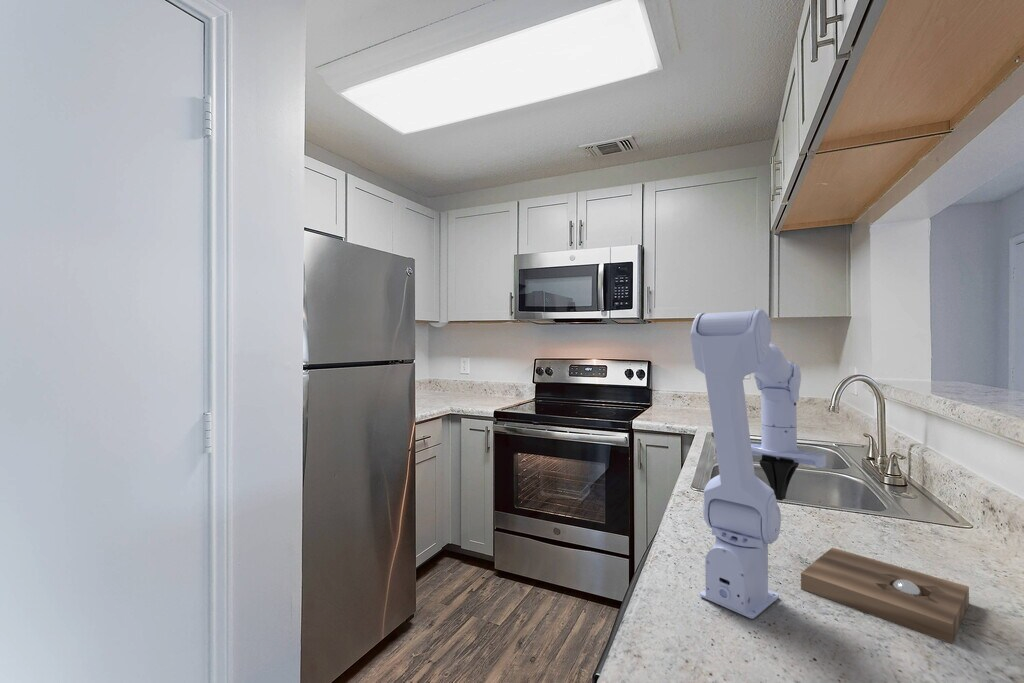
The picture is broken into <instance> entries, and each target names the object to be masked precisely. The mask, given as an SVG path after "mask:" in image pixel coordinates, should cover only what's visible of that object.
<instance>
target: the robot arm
mask: <svg viewBox="0 0 1024 683" xmlns="http://www.w3.org/2000/svg"><path fill="white" fill-rule="evenodd" d="M689 335H690V345H691V351H692V357H693V358H692V359H693V361H694V367H695V369H697V371H699V372H700V373H702V374H704V377H705V384H706V391H707V392H706V393H707V397H708V403H709V404H708V405H709V412H710V417H711V418H710V419H711V424H712V430H713V431H712V432H713V438H714V446H715V452H716V458H717V466H718V467H717V468H718V472H719V473H718V475H716V476H715V475H714V477H712V478H711V479H709V480H708V482H707V483H706V484H705V487H704V490H703V503H702V504H703V506H702V515H703V520H704V521H705V523H706V525H707V527H708V528H709V529H711V535H713V536H715V541H714V544H713V546H712V548H710V549H709V550H708V552H707V554H706V555H705V562H704V563H705V567H704V568H705V589H704V590H702V591H700V592H699V596H700V597H701V598H703V599H705V600H708V601H710V602H712V603H715V604H716V605H718V606H719V605H720V607H724V608H726V609H728V610H730V611H733V612H735V613H737V614H739V615H741V616H744V617H746V618H748V619H752V620H753V619H755V618H756V617H757V616H759V615H760V614H761V613H762V612H763V611H765V610H766V609H767V608H768V607H769V606H771V605H772V604H773V603H774V602H775V601H776V600H778V599H779V598H780V594H779V593H778V592H775V591H773V590H770V589H769V545H772V544H774V543H775V542H776V541H777V540H778V538H779V535H780V531H781V525H782V515H781V513H782V512H781V508H780V506H779V504H778V502H777V501H783V500H785V499H786V497H787V492H788V489H789V484H790V482H791V480H792V477H793V476H794V474H795V472H796V470H797V469H798V468H799V466H800V465H799V464H802V465H803V464H804V465H809V466H814V467H816V468H821V469H822V468H825V467H826V466H827V456H826V454H821V453H816V452H810V451H807V450H802V449H798V437H797V436H798V434H797V432H798V430H797V427H798V425H797V424H798V422H797V420H798V419H797V415H798V414H797V413H798V412H797V402H799V398H800V388H801V382H802V375H801V374H802V373H801V368H800V366H799V364H795V362H794V361H788V359H787V358H786V356H785V355H784V353H783V352H782V351H781V349H780V348H779V347H777V346H778V345H775V344H774V343H773V342H771V341H772V324H771V319H770V316H769V314H768V313H767V312H766V311H765V310H764V309H761V308H760V309H756V310H747V311H746V310H745V311H729V312H707V313H706V312H699V313H697V315H696V317H695V318H693V321H692V325H691V329H690V334H689ZM751 374H754V377H753V378H754V380H755V384H756V388H757V390H758V391H760V402H761V403H760V405H761V406H760V414H761V415H760V416H761V419H760V421H761V422H760V423H761V425H760V427H761V430H760V431H761V434H760V435H761V441H760V442H761V443H752V442H751V435H750V426H749V419H748V418H749V416H748V411H747V403H746V396H745V388H744V380H745V377H747V376H749V375H751ZM753 456H756V457H761V459H760V460H759V466H760V467H761V469H762V470H763V472H764V474H765V476H766V478H767V479H766V480H767V481H768V484H769V485H768V484H767V483H766V482H764V481H763V480H761V479H760V478H759V477H758V476H757V475H756V473H755V466H754V458H753Z"/></svg>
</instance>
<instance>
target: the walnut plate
mask: <svg viewBox="0 0 1024 683" xmlns="http://www.w3.org/2000/svg"><path fill="white" fill-rule="evenodd" d="M900 579H903V580H908V581H911V582H912V583H914V584H915V585H916V586H917V587H918V588H919V589H920V591H921V593H922V596H914V595H910V594H907V593H904V592H901V591H898V590H897V589H895V588H894V587H892V584H893V583H894V582H895V581H897V580H900ZM800 590H803V591H805V592H808V593H812V594H813V595H814V594H815V595H817V596H819V597H822V598H826V599H828V600H830V601H834V602H836V603H839V604H841V605H845V606H847V607H850V608H852V609H855V610H858V611H861V612H864V613H866V614H870V615H872V616H874V617H877V618H880V619H882V620H886V621H888V622H891V623H894V624H897V625H900V626H902V627H905V628H908V629H910V630H913V631H916V632H918V633H922V634H925V635H927V636H929V637H933V638H935V639H937V640H941V641H944V642H947V643H949V644H952V645H953V643H954V642H955V639H956V637H957V634H958V633H959V632H958V631H959V629H960V627H961V624H962V622H963V619H964V617H965V614H966V612H967V609H968V607H969V604H970V586H967V585H964V584H961V583H958V582H955V581H954V582H953V581H950V580H947V579H944V578H940V577H936V576H933V575H929V574H926V573H923V572H919V571H915V570H913V569H909V568H906V567H901V566H899V565H895V564H891V563H888V562H884V561H880V560H878V559H874V558H869V557H866V556H863V555H860V554H857V553H854V552H849V551H846V550H843V549H838V548H836V547H831V548H829V549H828V550H827V551H826V552H824V553H823V554H822V555H821V556H820V557H819V558H817V559H816V560H815V561H814V562H812V563H811V564H810V565H809V566H807V567H806V568H804V570H803V571H801V572H800Z"/></svg>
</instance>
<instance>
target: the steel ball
mask: <svg viewBox="0 0 1024 683" xmlns="http://www.w3.org/2000/svg"><path fill="white" fill-rule="evenodd" d="M892 587H894V588H895V589H897V590H898V591H901V592H904V593H907V594H910V595H914V596H922V593H921V591H920V589H919V588H918V587H917V586H916V585H915V584H914V583H912V582H911V581H908V580H903V579H900V580H897V581H895V582H894V583H893V584H892Z"/></svg>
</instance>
